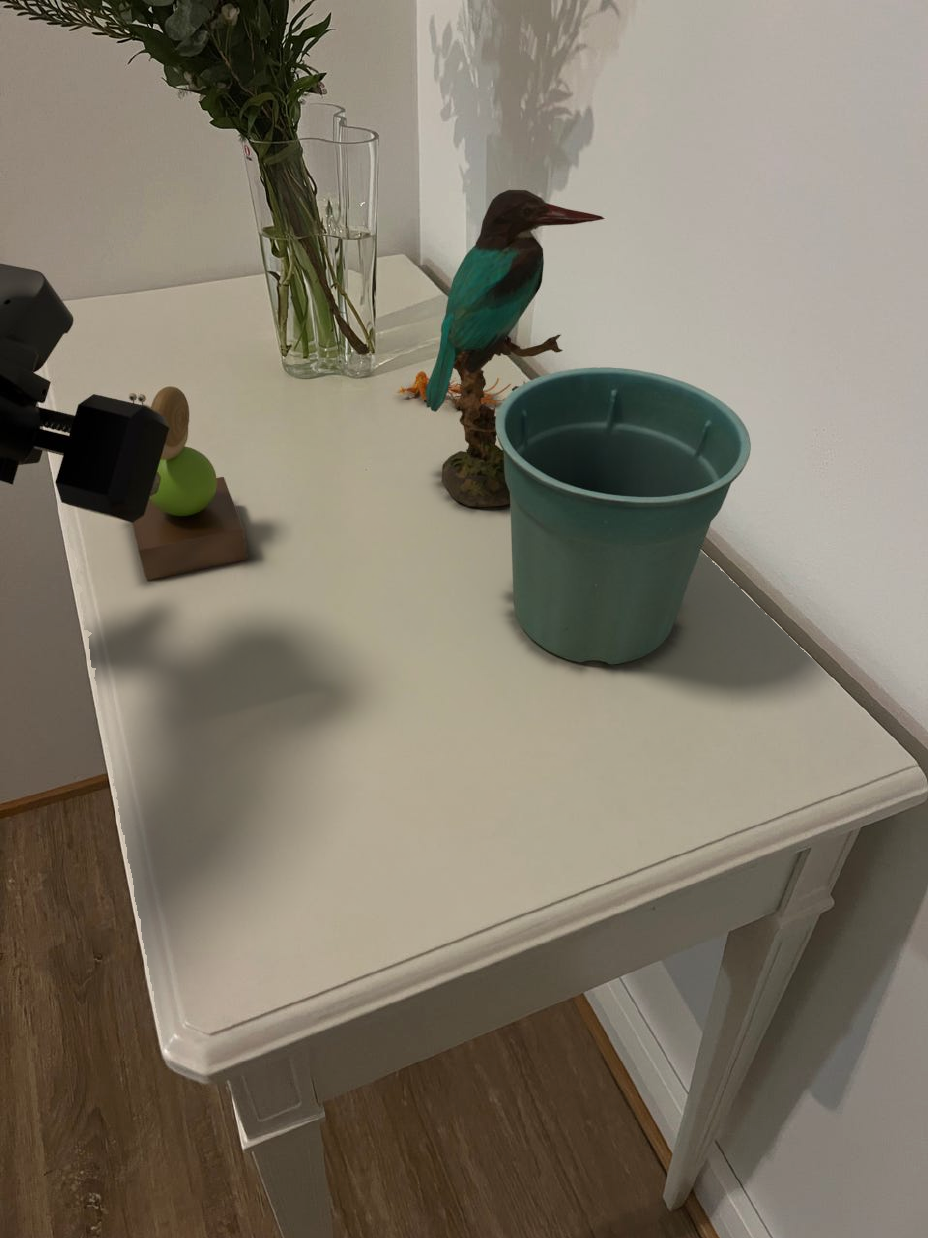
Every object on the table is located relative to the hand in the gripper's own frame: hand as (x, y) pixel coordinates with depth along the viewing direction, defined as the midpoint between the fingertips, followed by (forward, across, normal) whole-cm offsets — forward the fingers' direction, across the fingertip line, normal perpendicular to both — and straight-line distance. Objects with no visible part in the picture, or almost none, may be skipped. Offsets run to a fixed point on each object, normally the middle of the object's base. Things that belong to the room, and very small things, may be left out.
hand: (97, 469), depth 61 cm
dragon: (+37, -10, -19) cm, 43 cm away
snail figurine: (+14, +2, 0) cm, 14 cm away
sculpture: (+28, -18, -10) cm, 36 cm away
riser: (+16, +2, +2) cm, 16 cm away
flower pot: (+19, -31, 0) cm, 37 cm away
